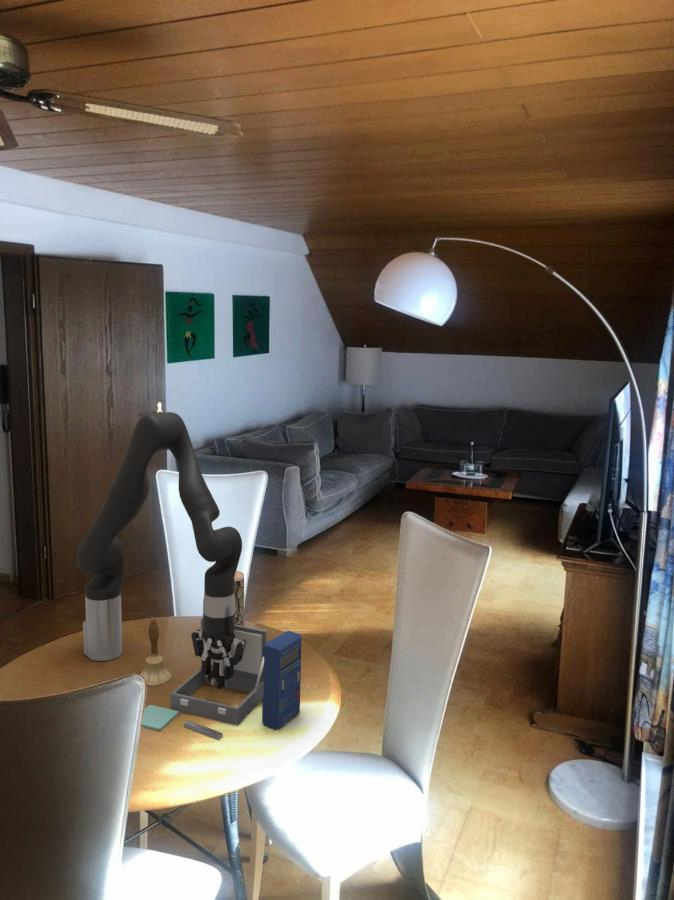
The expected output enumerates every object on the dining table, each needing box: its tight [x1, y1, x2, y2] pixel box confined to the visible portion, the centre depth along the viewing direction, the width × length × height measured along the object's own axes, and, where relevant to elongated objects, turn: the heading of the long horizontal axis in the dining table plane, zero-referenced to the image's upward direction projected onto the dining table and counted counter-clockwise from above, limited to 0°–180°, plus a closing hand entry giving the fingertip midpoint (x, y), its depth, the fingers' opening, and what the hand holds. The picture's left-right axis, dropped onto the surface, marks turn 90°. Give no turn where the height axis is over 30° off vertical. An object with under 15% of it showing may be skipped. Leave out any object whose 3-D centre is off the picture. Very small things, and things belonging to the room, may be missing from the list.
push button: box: [206, 646, 229, 690], centre depth 181 cm, size 7×5×10 cm
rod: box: [183, 719, 224, 741], centre depth 169 cm, size 10×1×1 cm, turn 61°
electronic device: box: [261, 630, 303, 730], centre depth 174 cm, size 10×5×20 cm, turn 148°
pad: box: [140, 704, 180, 732], centre depth 174 cm, size 8×8×1 cm
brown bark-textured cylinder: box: [234, 570, 245, 626], centre depth 200 cm, size 7×7×25 cm
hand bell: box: [139, 619, 172, 687], centre depth 192 cm, size 8×8×16 cm
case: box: [169, 617, 268, 726], centre depth 181 cm, size 19×16×17 cm
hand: (217, 675), depth 181 cm, fingers closed on push button, 5 cm apart
